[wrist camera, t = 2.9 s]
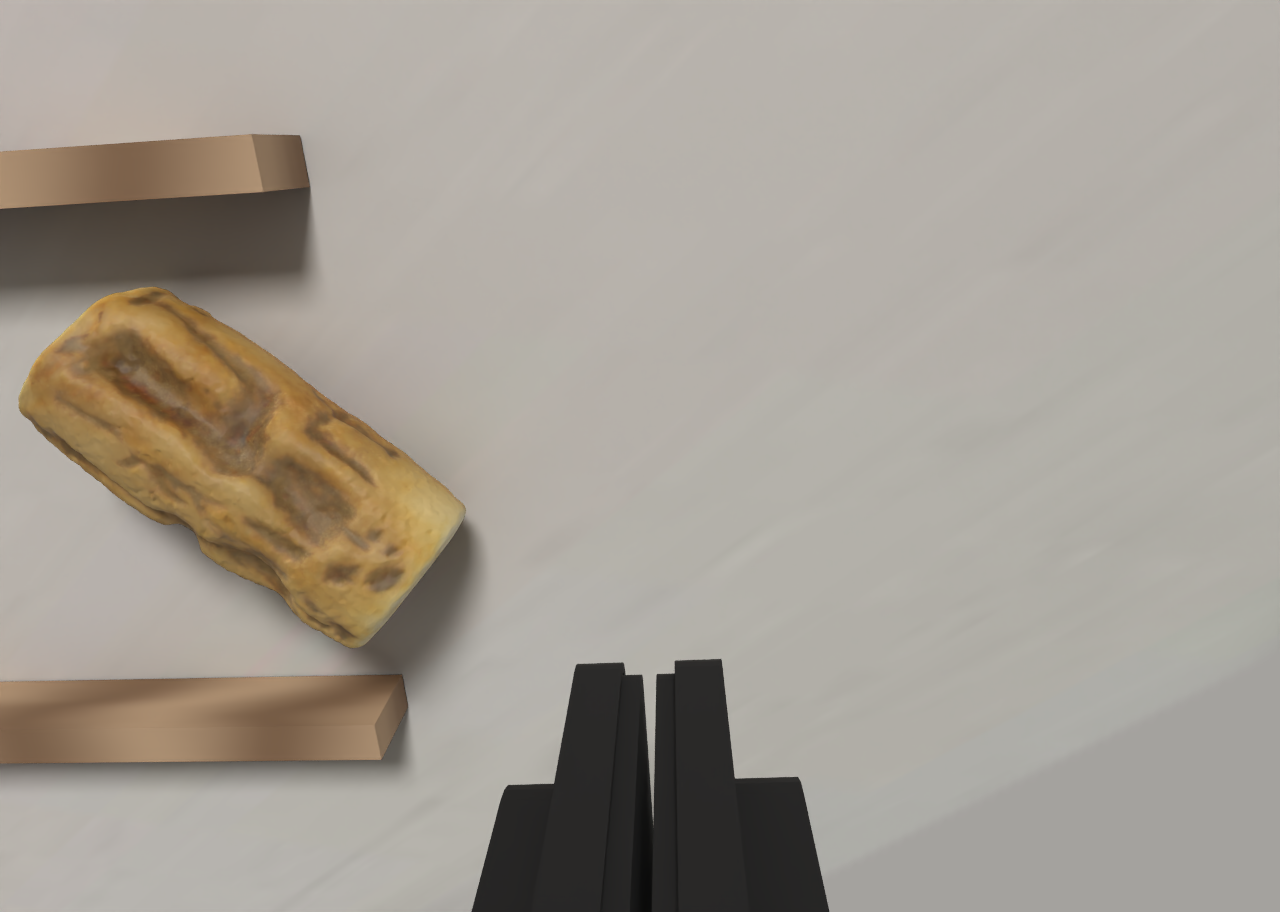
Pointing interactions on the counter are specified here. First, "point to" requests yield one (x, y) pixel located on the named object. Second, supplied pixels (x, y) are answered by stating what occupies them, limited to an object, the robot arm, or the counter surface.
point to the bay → (197, 707)
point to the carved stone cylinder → (241, 459)
